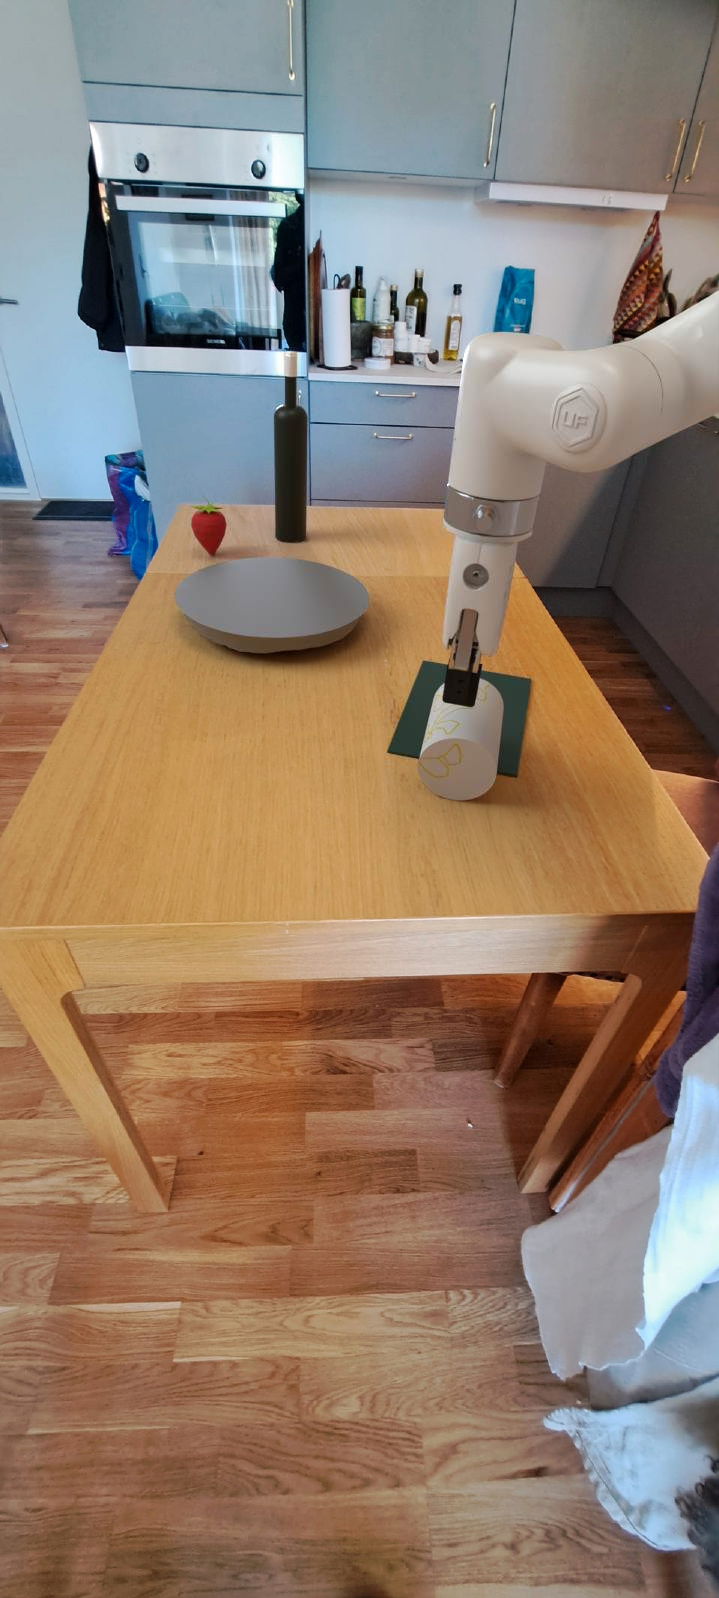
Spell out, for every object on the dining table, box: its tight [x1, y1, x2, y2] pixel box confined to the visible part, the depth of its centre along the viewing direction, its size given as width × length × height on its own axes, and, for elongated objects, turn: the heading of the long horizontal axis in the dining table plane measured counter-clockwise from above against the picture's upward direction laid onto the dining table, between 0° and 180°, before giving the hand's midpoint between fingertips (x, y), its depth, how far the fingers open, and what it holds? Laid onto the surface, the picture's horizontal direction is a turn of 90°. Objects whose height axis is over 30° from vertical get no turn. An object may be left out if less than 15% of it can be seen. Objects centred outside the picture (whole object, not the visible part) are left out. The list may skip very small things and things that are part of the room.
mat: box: [386, 659, 532, 778], centre depth 92 cm, size 15×23×1 cm, turn 166°
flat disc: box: [174, 556, 370, 654], centre depth 108 cm, size 28×28×4 cm
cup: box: [417, 678, 504, 801], centre depth 80 cm, size 8×8×12 cm
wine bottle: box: [273, 350, 309, 543], centre depth 128 cm, size 6×6×30 cm
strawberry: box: [190, 495, 227, 556], centre depth 125 cm, size 6×8×10 cm
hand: (459, 700), depth 72 cm, fingers closed
